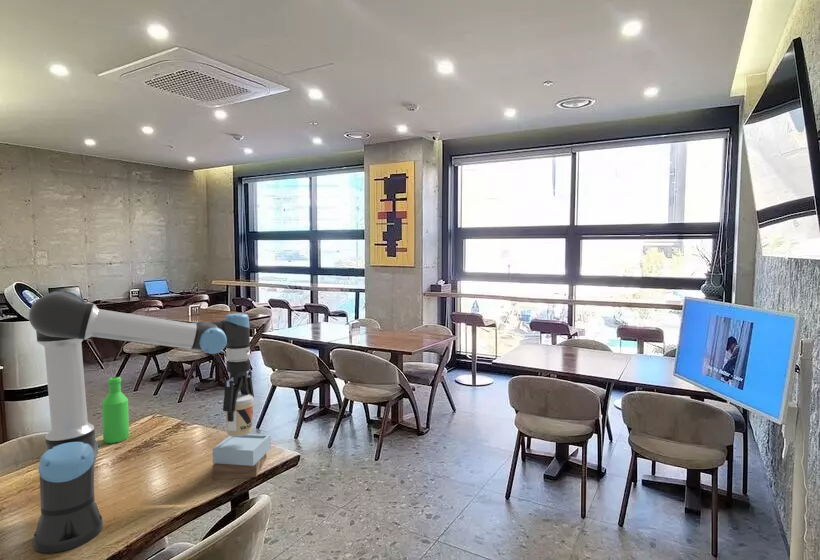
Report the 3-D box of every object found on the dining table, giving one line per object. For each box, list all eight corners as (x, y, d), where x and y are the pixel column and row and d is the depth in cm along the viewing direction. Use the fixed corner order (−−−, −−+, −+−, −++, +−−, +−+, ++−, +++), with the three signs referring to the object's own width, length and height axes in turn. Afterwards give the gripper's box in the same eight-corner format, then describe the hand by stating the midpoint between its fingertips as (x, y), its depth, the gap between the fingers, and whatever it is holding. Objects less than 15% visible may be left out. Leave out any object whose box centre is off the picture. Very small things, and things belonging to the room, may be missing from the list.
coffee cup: (242, 439, 156) (241, 402, 155) (218, 435, 159) (218, 400, 158) (259, 429, 164) (259, 395, 164) (237, 426, 168) (236, 392, 167)
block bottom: (256, 479, 157) (256, 464, 156) (212, 480, 156) (212, 465, 155) (266, 461, 171) (266, 447, 170) (226, 462, 170) (226, 448, 169)
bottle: (127, 434, 195) (125, 374, 194) (131, 440, 188) (129, 378, 187) (101, 439, 189) (99, 377, 188) (104, 446, 183) (103, 382, 181)
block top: (253, 465, 156) (253, 450, 155) (212, 463, 157) (212, 448, 157) (270, 448, 169) (270, 434, 169) (233, 446, 171) (233, 433, 171)
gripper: (231, 367, 149) (233, 437, 150) (263, 353, 170) (264, 415, 171) (209, 366, 150) (211, 436, 151) (244, 352, 172) (245, 414, 173)
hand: (239, 425), depth 161 cm, fingers closed on coffee cup, 9 cm apart
